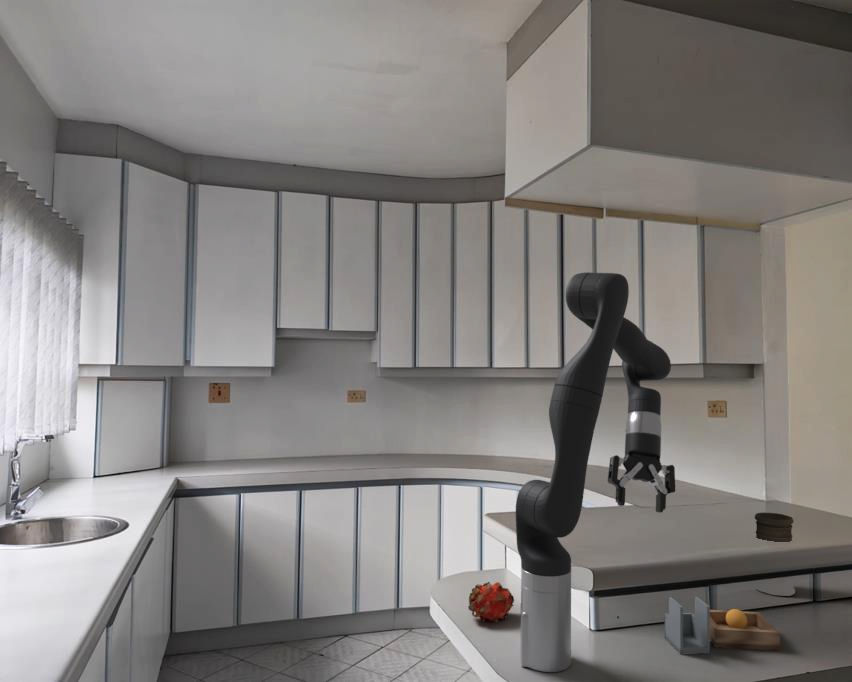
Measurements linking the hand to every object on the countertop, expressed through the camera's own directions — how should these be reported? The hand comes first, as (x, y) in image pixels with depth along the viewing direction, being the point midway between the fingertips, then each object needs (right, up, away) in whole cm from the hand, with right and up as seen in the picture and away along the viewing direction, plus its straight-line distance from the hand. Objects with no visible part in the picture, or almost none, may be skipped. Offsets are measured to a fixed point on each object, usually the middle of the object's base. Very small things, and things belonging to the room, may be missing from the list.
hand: (640, 508), depth 139 cm
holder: (+5, -24, -11) cm, 27 cm away
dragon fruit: (-32, -24, +1) cm, 40 cm away
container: (+39, -25, +19) cm, 50 cm away
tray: (+17, -24, -8) cm, 31 cm away
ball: (+18, -21, -6) cm, 28 cm away
